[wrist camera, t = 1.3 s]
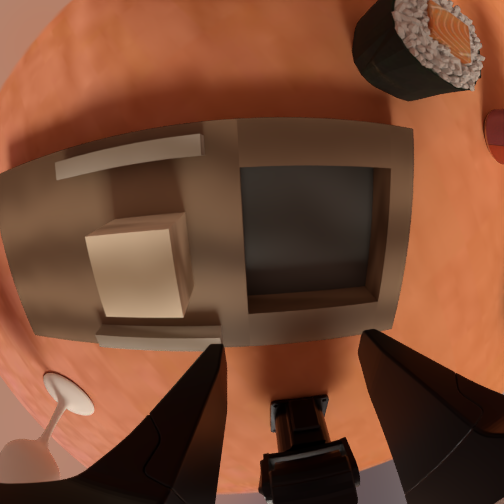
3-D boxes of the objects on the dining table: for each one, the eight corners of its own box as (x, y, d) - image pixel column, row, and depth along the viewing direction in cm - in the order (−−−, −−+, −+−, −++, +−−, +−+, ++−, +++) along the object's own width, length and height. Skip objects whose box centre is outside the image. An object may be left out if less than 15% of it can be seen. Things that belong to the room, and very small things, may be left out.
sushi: (432, 42, 14) (486, 20, 7) (426, 115, 17) (492, 110, 10) (355, 2, 13) (396, -43, 6) (343, 76, 16) (395, 41, 9)
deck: (378, 311, 23) (399, 339, 19) (48, 319, 23) (27, 342, 18) (392, 130, 18) (425, 127, 13) (12, 172, 17) (-19, 179, 13)
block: (194, 285, 18) (183, 317, 14) (128, 287, 18) (106, 316, 14) (185, 212, 16) (168, 229, 13) (114, 219, 16) (84, 236, 13)
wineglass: (70, 414, 29) (28, 514, 9) (34, 374, 26) (-25, 476, 6) (106, 413, 28) (64, 536, 8) (65, 369, 25) (-2, 497, 5)
